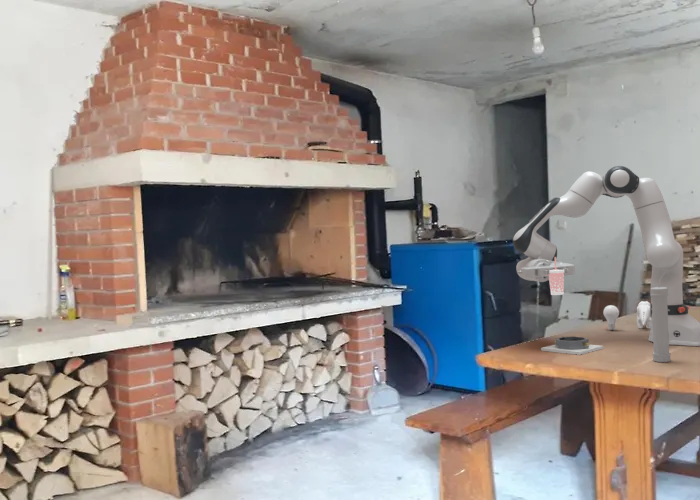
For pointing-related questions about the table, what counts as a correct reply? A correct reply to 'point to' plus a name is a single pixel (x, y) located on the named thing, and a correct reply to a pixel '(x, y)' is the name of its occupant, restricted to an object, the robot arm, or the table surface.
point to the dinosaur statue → (643, 314)
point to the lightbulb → (611, 316)
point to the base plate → (575, 351)
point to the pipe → (660, 324)
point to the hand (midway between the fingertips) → (557, 271)
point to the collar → (572, 342)
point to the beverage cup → (556, 281)
